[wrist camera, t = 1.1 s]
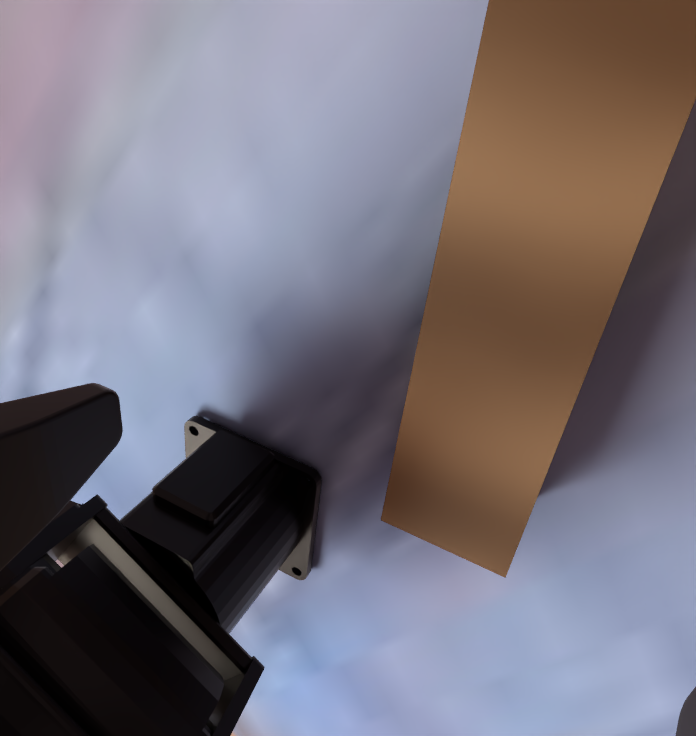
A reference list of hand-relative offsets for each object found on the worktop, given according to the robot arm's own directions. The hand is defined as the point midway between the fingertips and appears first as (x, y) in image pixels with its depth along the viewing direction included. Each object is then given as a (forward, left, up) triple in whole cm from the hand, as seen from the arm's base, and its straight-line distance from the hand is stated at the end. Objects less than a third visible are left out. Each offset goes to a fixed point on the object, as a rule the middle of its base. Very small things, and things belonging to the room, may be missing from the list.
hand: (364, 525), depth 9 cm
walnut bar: (0, 0, -11) cm, 11 cm away
